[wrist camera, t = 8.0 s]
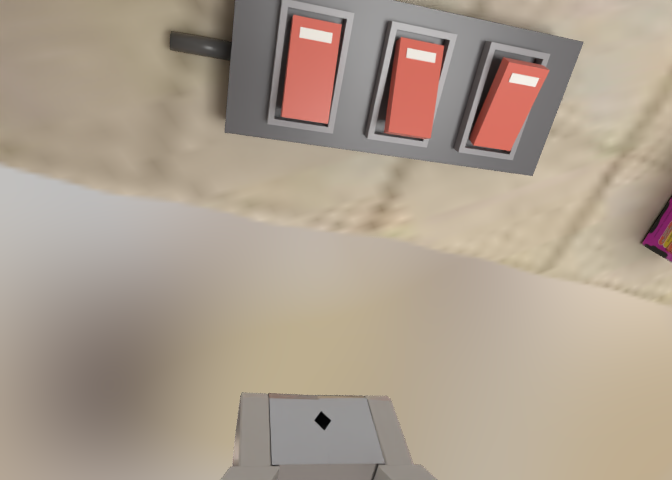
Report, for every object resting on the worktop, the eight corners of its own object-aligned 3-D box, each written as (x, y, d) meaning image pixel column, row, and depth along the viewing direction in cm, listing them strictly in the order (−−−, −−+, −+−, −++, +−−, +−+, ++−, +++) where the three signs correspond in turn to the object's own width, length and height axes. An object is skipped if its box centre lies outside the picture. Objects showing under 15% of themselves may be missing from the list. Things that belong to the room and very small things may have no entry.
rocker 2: (383, 133, 31) (388, 131, 30) (396, 41, 31) (401, 36, 30) (424, 139, 32) (431, 138, 31) (437, 49, 31) (444, 45, 30)
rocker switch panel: (171, 112, 34) (160, 126, 30) (176, -45, 30) (164, -52, 26) (511, 162, 40) (538, 179, 36) (555, 38, 36) (591, 43, 32)
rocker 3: (468, 138, 34) (473, 145, 33) (503, 57, 31) (509, 62, 30) (504, 144, 35) (510, 151, 34) (542, 65, 31) (550, 70, 30)
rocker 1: (280, 116, 30) (281, 116, 29) (291, 17, 29) (293, 14, 28) (325, 123, 31) (328, 123, 30) (338, 27, 29) (342, 24, 28)
